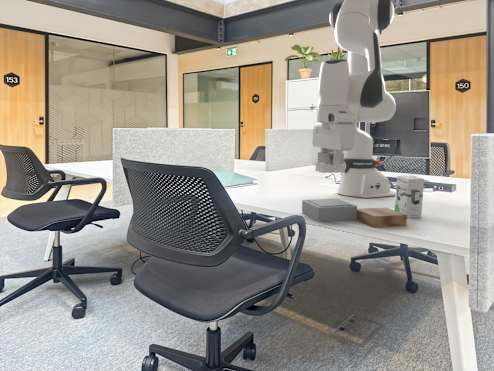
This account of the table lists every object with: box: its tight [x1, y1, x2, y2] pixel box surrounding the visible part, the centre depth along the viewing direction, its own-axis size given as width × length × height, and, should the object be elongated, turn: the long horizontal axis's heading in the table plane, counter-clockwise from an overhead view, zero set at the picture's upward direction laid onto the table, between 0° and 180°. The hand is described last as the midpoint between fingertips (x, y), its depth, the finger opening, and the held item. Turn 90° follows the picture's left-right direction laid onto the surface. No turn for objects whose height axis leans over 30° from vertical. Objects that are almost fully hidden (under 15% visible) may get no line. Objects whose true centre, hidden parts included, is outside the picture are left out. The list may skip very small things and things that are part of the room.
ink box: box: [394, 174, 425, 219], centre depth 125 cm, size 9×5×12 cm, turn 4°
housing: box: [315, 151, 345, 174], centre depth 120 cm, size 7×5×6 cm
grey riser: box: [301, 198, 358, 223], centre depth 122 cm, size 12×12×4 cm
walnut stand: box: [356, 207, 408, 228], centre depth 116 cm, size 10×10×3 cm
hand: (330, 164), depth 120 cm, fingers closed on housing, 5 cm apart
